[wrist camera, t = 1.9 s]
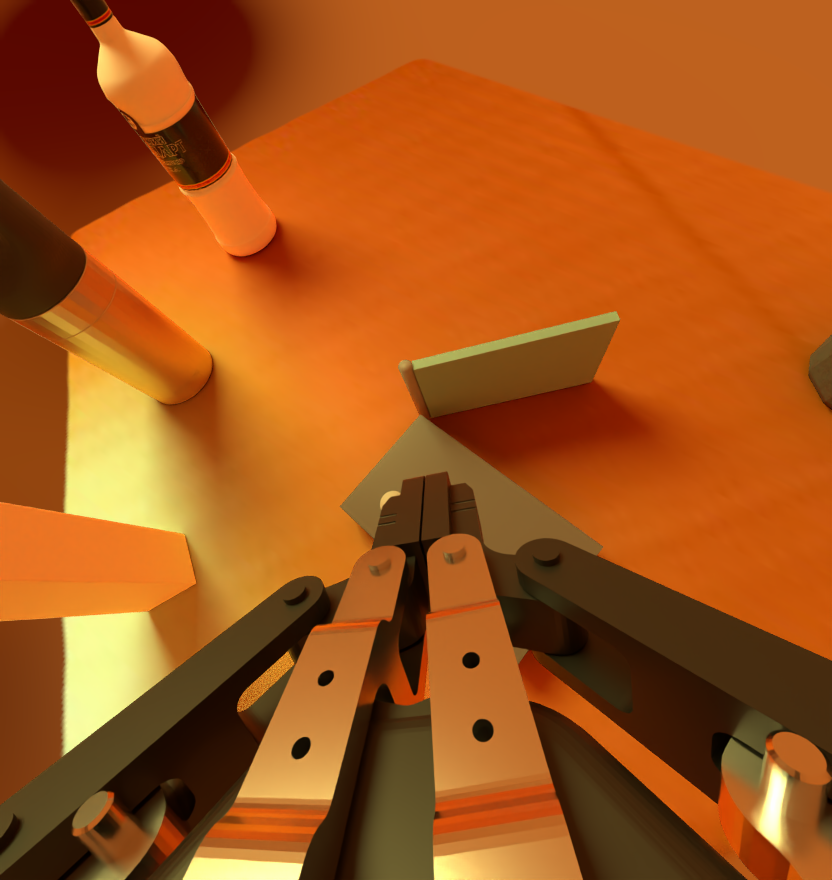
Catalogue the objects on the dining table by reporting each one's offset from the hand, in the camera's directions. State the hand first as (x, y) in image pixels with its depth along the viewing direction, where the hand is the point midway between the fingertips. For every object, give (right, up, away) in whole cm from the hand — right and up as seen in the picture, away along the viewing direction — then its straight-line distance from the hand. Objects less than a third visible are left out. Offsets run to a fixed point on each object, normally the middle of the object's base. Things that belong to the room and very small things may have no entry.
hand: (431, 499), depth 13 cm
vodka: (-26, +33, +46) cm, 63 cm away
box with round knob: (+4, -7, +24) cm, 25 cm away
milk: (-28, -12, +29) cm, 42 cm away
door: (+9, +6, +28) cm, 30 cm away
